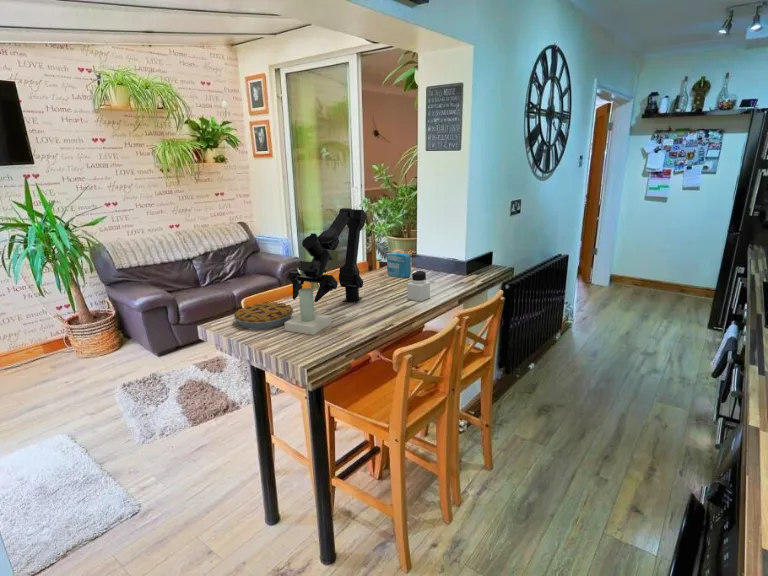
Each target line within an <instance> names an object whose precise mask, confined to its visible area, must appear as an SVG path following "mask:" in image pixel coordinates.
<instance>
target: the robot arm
mask: <svg viewBox="0 0 768 576" xmlns="http://www.w3.org/2000/svg"><path fill="white" fill-rule="evenodd" d="M367 216H368V214H367V213H366V212H365V209H359V208H358V209H357V208H356V209H355V208H348V207H341V208H340V209H339V211H338V214H337V215H336V216H335V219H334V220H333V221H332V223H331V225H330V226H329V227H328V229H326V230H324V231H322V232H320V234H319V235H317V233H313V232H312V233H310V235H307V237H305V238H303V240H302V242H301V245H302V247H303V248H304V250H305V251H306V252H307V253H308V255H310V257H312V259H311V261H303V260H300V261H299V263H298V269H297V270H298V271H289V272H288V274H287V276H286V278H287V279H288V280H289V282H291V284H292V299H293V300H294V301H295V300H296V299H297V297H299V290H300V289H303V287H304V286H303V285H304V284H305V283H306V282H307V283H312V284H313V283H315V284H318V286H319V287H318V290H317V291H316V294H315V296H314V303H318V301H320V300H321V299H322V298H323V297H324V296H325V295H327V294H328V293H329V292H330V291H333V290H337V288H338V285H339V286H340V288H344V289H345V298H343V300H342V302H343V303H357V304H358V302H359V301H361V300H362V299H363V297H361V296H360V289H362V288H363V287H364V280H363V279H362V277H361V276H360V270H359V269H360V268H359V267H358V263H357V262H358V254H359V245H360V237H361V231H362V229H363V228H364V227H365V225H366V220H367ZM346 226H347V229H348V234H347V242H346V243H347V244H346V251H345V258H344V259H345V261H344V264H343V266H339V272H338V273H339V274H338V280H336V278H335V277H334V276H333V275H332V274H326V273H327V272H328V270H327V269H326V268H327V265H328V263H329V261H332V260H333V257H332V255H331V252H329V251H335V250H337V248H338V247H339V243H340V236H341V234H342V233H343V231H344V230H345V228H346ZM299 271H303V272H302V273H303V275H304V276H303V275H302V274H301V273H300V272H299Z"/></svg>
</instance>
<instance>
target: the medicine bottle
mask: <svg viewBox="0 0 768 576" xmlns="http://www.w3.org/2000/svg"><path fill="white" fill-rule="evenodd" d="M430 298H431V282H430V281H427V273H426V271H423V270H414V271H411V282H408V283H407V300H411V301H417V302H420V303H421V302H423V301H426V300H428V299H430Z"/></svg>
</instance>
